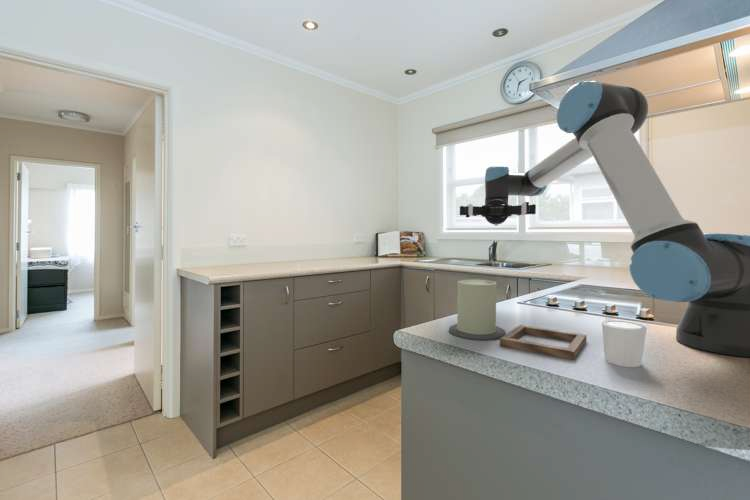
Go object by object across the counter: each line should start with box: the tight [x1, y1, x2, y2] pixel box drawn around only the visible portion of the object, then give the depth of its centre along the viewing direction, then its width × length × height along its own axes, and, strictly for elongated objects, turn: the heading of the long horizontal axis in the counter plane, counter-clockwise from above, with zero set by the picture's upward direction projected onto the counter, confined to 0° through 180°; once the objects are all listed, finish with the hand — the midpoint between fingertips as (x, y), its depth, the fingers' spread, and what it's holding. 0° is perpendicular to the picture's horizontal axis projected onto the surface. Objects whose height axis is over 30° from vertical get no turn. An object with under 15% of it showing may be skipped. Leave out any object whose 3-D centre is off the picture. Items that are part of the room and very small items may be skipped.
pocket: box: [499, 324, 587, 361], centre depth 79 cm, size 14×14×2 cm
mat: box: [448, 323, 507, 341], centre depth 88 cm, size 13×13×1 cm
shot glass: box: [601, 320, 648, 368], centre depth 68 cm, size 7×7×7 cm
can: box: [456, 278, 498, 335], centre depth 88 cm, size 9×9×12 cm
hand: (496, 208), depth 96 cm, fingers open, 13 cm apart
